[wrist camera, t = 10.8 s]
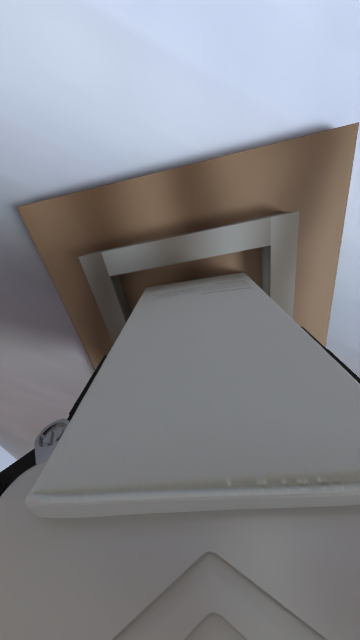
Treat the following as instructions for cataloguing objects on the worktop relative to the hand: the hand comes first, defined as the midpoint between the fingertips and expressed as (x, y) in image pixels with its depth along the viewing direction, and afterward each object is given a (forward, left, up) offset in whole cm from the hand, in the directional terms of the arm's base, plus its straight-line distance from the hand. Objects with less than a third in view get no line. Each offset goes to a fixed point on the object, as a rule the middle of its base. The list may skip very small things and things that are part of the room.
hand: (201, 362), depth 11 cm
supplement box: (0, 0, -5) cm, 5 cm away
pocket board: (0, 0, -6) cm, 6 cm away
